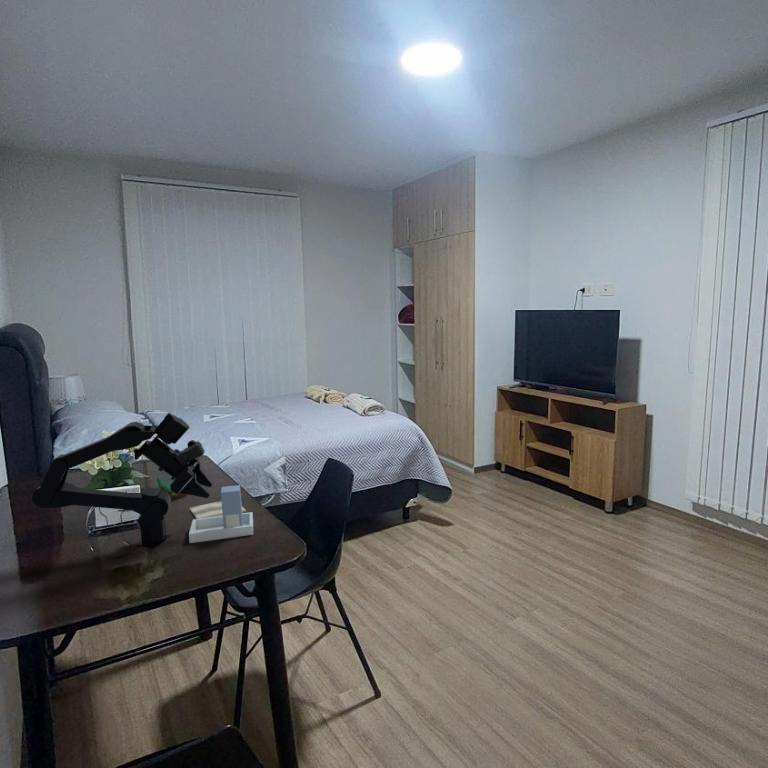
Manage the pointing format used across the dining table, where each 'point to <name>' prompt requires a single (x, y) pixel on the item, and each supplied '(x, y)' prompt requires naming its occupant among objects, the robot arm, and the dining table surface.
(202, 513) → the board
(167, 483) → the food container
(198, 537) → the tray
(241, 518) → the carton
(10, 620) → the dining table surface
